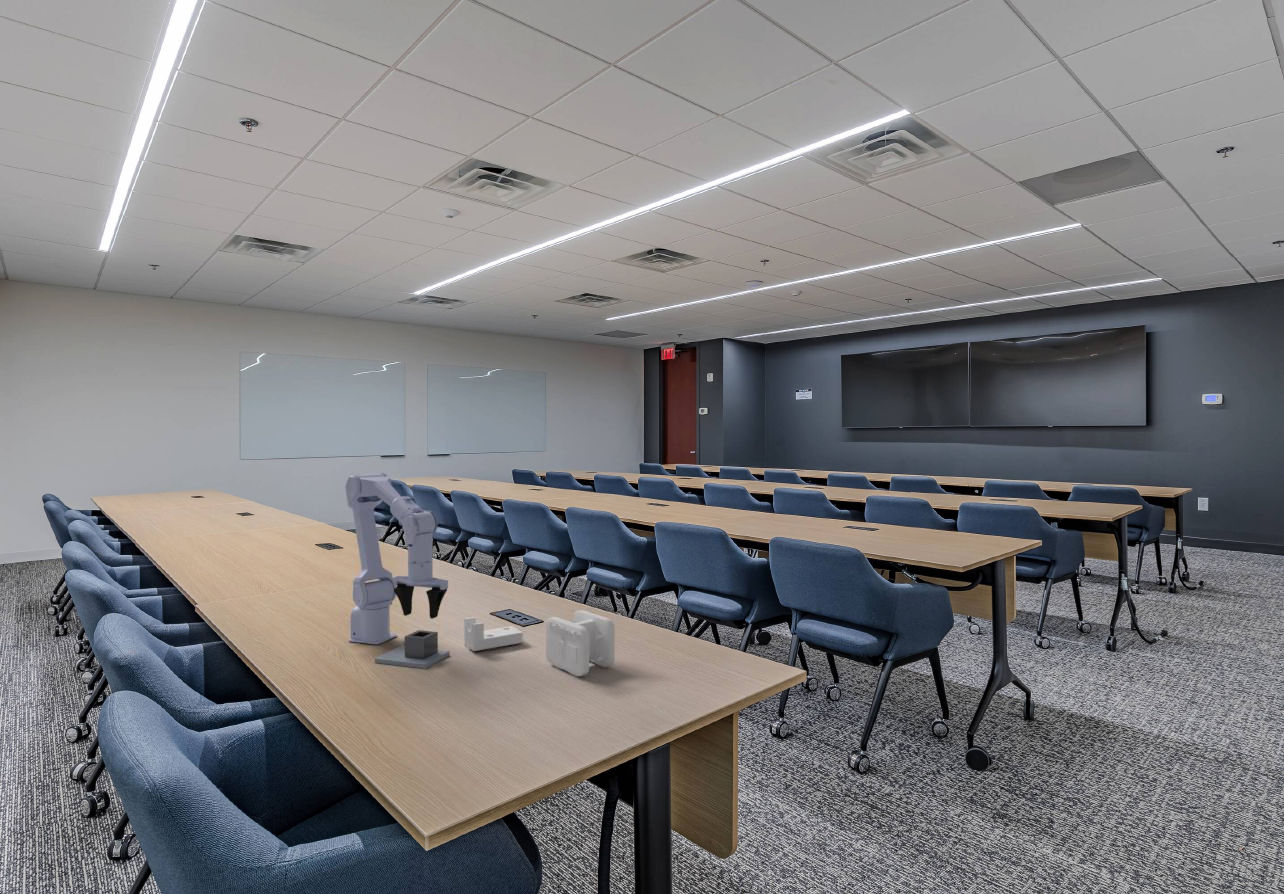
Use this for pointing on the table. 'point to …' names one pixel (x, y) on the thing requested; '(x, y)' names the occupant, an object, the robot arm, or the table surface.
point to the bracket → (488, 635)
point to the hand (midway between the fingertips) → (420, 615)
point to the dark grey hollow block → (421, 644)
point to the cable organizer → (580, 642)
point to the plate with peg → (399, 658)
